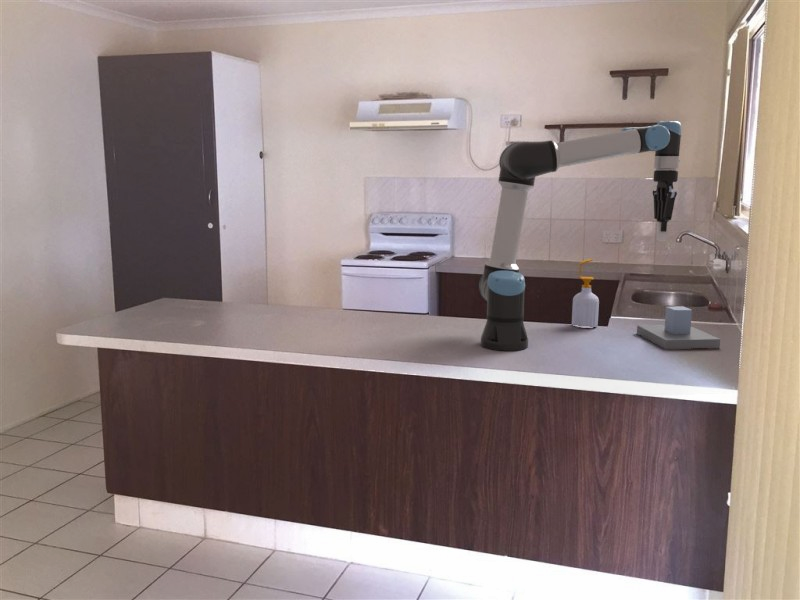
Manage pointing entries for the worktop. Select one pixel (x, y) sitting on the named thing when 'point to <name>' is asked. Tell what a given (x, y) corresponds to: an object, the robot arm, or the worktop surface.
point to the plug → (678, 320)
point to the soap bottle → (585, 304)
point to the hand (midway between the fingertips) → (661, 241)
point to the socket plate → (678, 338)
